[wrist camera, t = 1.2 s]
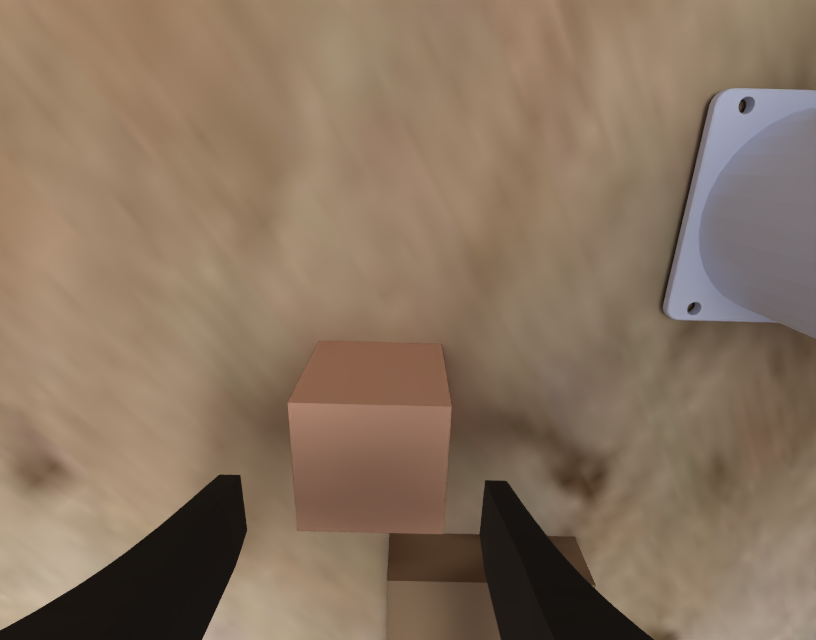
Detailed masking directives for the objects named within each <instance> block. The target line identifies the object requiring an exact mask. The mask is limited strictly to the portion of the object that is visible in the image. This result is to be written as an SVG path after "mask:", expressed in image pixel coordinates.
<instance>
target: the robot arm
mask: <svg viewBox="0 0 816 640" xmlns="http://www.w3.org/2000/svg"><path fill="white" fill-rule="evenodd" d="M742 99H744V100H745V101H746V108H745V110H744V112H743V113H740V111H739V110H738V105H739V103H740V101H741V100H742ZM693 302H695V306H694V308H693V309H692V310H691V311H688V312H687V308H688V306H689V305H690V304H691V303H693ZM663 311H664V313H665V314H666V315H667V316H668V317H670V318H672V319H675V320H694V321H733V322H772V323H780V324H782V325H785V326H787V327H789V328H791V329H794V330H796V331H798V332H801V333H803V334H805V335H807V336H810V337H812V338H814V339H816V90H790V89H752V88H732V89H727V90H723V91H721V92H719V93H717V94H716V95H715V96H714V98H713V99H712V100H711V103H710V105H709V109H708V114H707V118H706V122H705V127H704V131H703V135H702V139H701V144H700V148H699V152H698V157H697V161H696V165H695V170H694V174H693V178H692V183H691V187H690V191H689V196H688V200H687V204H686V208H685V213H684V217H683V221H682V226H681V230H680V234H679V239H678V243H677V247H676V252H675V256H674V260H673V265H672V269H671V273H670V277H669V282H668V286H667V290H666V295H665V299H664V303H663ZM246 532H247V525H246V517H245V509H244V501H243V493H242V485H241V477H240V475H219V476H217V477H216V478H215V479H214V480H213V481H211V482H210V483H209V484H208V485H207V486H206V487H205V488H203V489H202V490H201V491H200V492H199V493H198V494H197V495H195V496H194V497H193V498H192V499H191V500H190V501H189V502H187V503H186V504H185V505H184V506H183V507H182V508H180V509H179V510H178V511H177V512H176V513H175V514H173V515H172V516H171V517H170V518H169V519H167V520H166V521H165V522H164V523H163V524H162V525H160V526H159V527H158V528H157V529H155V530H154V531H153V532H151V533H150V534H149V535H148V536H146V537H145V538H144V539H143V540H141V541H140V542H139V543H137V544H136V545H135V546H134V547H132V548H131V549H130V550H128V551H127V552H126V553H124V554H123V555H122V556H120V557H119V558H118V559H116V560H115V561H113V562H112V563H111V564H109V565H108V566H106V567H105V568H103V569H102V570H100V571H99V572H97V573H96V574H95V575H93V576H92V577H90V578H89V579H87V580H86V581H84V582H83V583H81V584H79V585H78V586H76V587H75V588H73V589H71V590H70V591H68V592H66V593H65V594H63V595H61V596H60V597H58V598H56V599H55V600H53V601H52V602H50V603H48V604H47V605H45V606H43V607H42V608H40V609H38V610H37V611H35V612H33V613H31V614H30V615H28V616H26V617H24V618H22V619H21V620H19V621H17V622H15V623H13V624H11V625H10V626H8V627H6V628H4V629H2V630H0V640H202V638H203V636H204V634H205V632H206V630H207V628H208V625H209V623H210V621H211V619H212V617H213V615H214V612H215V610H216V608H217V606H218V604H219V601H220V599H221V597H222V595H223V593H224V591H225V588H226V586H227V584H228V582H229V579H230V577H231V575H232V573H233V570H234V568H235V566H236V563H237V560H238V557H239V554H240V551H241V548H242V545H243V542H244V538H245V535H246ZM480 541H481V549H482V557H483V564H484V571H485V575H486V580H487V584H488V588H489V592H490V597H491V601H492V605H493V609H494V613H495V617H496V621H497V625H498V630H499V634H500V638H501V640H654V639H653V638H651V637H650V636H649V635H647V634H646V633H645V632H644V631H642V630H641V629H640V628H639V627H638V626H636V625H635V624H634V623H633V622H632V621H631V620H629V619H628V618H627V617H626V616H625V615H623V614H622V613H621V612H620V611H619V610H618V609H616V608H615V607H614V606H613V605H612V604H611V603H610V602H608V601H607V600H606V599H605V598H604V597H603V596H602V595H601V594H600V593H599V592H598V591H597V590H596V589H595V588H594V587H593V586H592V585H591V584H590V583H589V582H588V581H587V580H586V579H585V578H584V577H583V576H582V575H581V574H580V573H579V572H578V571H577V570H576V569H575V568H574V567H573V566H572V564H571V563H570V562H569V561H568V560H567V559H566V558H565V557H564V555H563V554H562V553H561V552H560V551H559V550H558V549H557V547H556V546H555V545H554V544H553V543H552V541H551V540H550V539H549V538H548V536H547V535H546V534H545V533H544V531H543V530H542V529H541V528H540V526H539V525H538V524H537V523H536V521H535V520H534V519H533V517H532V516H531V515H530V513H529V512H528V510H527V509H526V508H525V506H524V505H523V504H522V502H521V501H520V499H519V498H518V496H517V495H516V494H515V492H514V491H513V489H512V488H511V486H510V485H509V484H508V482H507V481H490V480H485V488H484V498H483V507H482V517H481V527H480Z"/></svg>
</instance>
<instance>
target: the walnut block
mask: <svg viewBox="0 0 816 640" xmlns="http://www.w3.org/2000/svg"><path fill="white" fill-rule="evenodd" d="M548 538H549V539H550V540H551V541H552V543H553V544H554V545H555V546H556V547H557V549H558V550H559V551H560V552H561V553H562V554H563V555H564V557H565V558H566V559H567V560H568V561H569V562H570V563H571V564H572V566H573V567H574V568H575V569H576V570H577V571H578V572H579V573H580V574H581V575H582V576H583V577H584V578H585V579H586V580H587V581H588V582H589V583H590V584H591V585H592V586H593V587H594V588H595V583H594V580H593V578H592V576H591V573H590V571H589V569H588V567H587V564H586V562H585V560H584V557H583V555H582V553H581V551H580V548H579V546H578V544H577V541H576V539H575V537H558V536H548ZM387 640H501V638H500V634H499V630H498V625H497V621H496V617H495V613H494V609H493V605H492V601H491V597H490V592H489V588H488V584H487V580H486V575H485V571H484V564H483V557H482V549H481V541H480V535H472V534H412V533H390V537H389V556H388V574H387Z"/></svg>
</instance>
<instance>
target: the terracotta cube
mask: <svg viewBox="0 0 816 640" xmlns="http://www.w3.org/2000/svg"><path fill="white" fill-rule="evenodd" d="M451 411H452V405H451V399H450V393H449V387H448V381H447V375H446V369H445V363H444V357H443V351H442V345H441V344H422V343H382V342H343V341H319V342H318V344H317V346H316V348H315V350H314V352H313V354H312V356H311V358H310V360H309V362H308V364H307V366H306V368H305V370H304V372H303V374H302V376H301V378H300V379H299V381H298V383H297V385H296V387H295V389H294V391H293V393H292V395H291V397H290V399H289V401H288V415H289V428H290V441H291V454H292V466H293V479H294V492H295V505H296V518H297V531H328V532H370V533H412V534H443V532H444V517H445V502H446V486H447V471H448V456H449V441H450V426H451Z"/></svg>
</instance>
